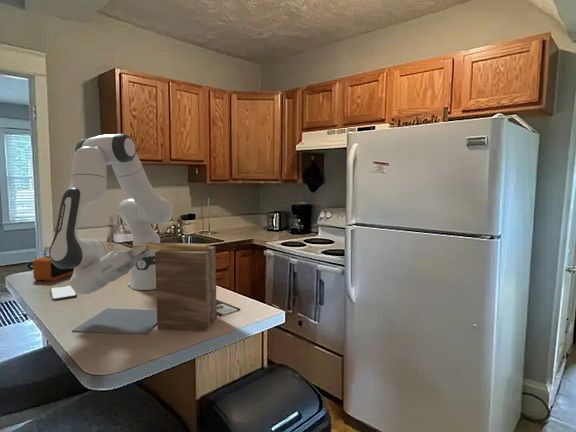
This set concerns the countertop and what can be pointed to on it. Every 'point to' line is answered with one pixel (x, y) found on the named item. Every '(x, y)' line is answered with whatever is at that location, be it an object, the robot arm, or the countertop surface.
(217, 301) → the chocolate bar
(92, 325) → the rubber mat
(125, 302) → the countertop surface
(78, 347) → the countertop surface
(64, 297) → the phone case
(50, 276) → the alarm clock
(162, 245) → the ochre block
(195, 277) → the walnut shelf
